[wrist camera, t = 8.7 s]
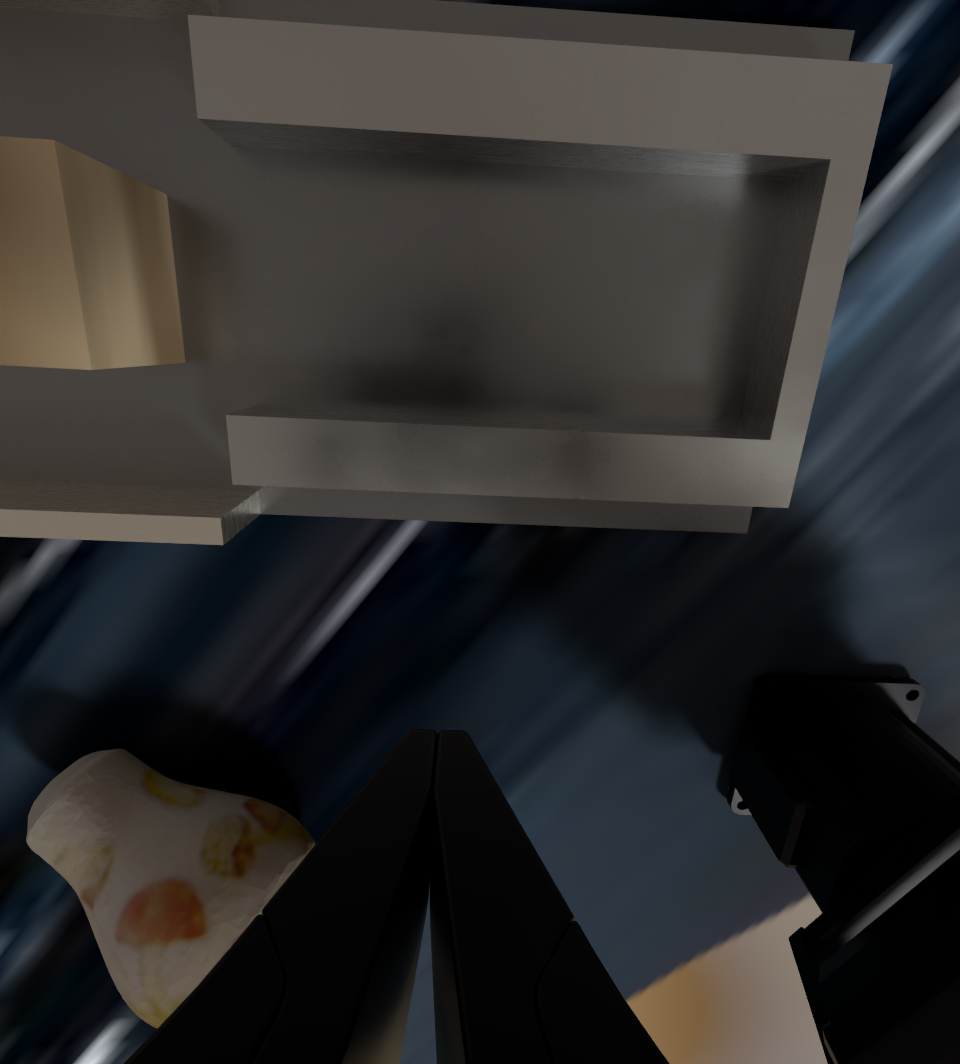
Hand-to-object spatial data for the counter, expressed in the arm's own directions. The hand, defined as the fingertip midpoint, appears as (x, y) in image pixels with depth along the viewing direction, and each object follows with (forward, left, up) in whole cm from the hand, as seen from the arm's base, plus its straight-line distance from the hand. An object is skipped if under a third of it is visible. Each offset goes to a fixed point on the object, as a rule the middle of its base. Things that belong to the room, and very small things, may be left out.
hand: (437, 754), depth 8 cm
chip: (+11, -7, -11) cm, 17 cm away
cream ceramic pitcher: (+10, +13, -12) cm, 21 cm away
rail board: (+5, -7, -12) cm, 15 cm away
